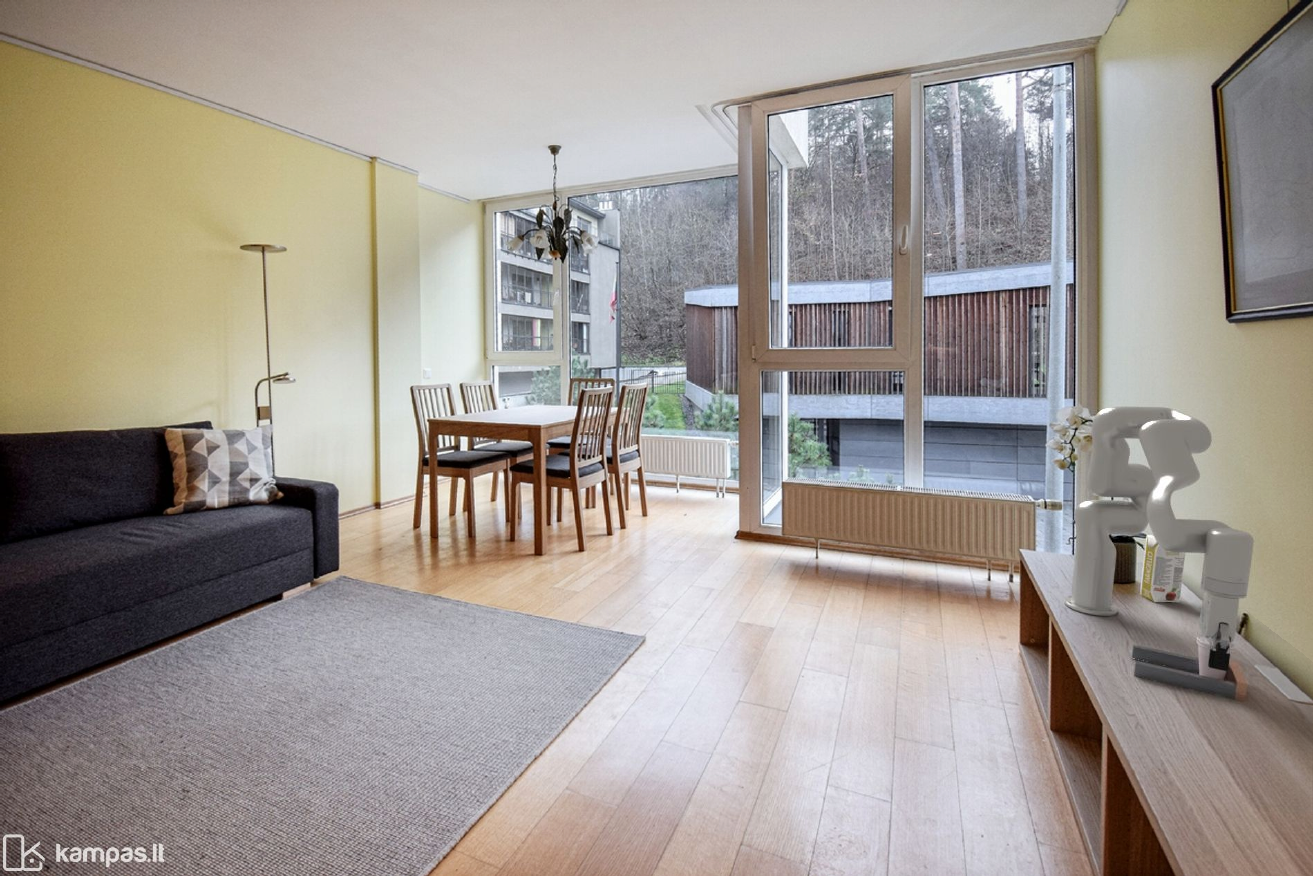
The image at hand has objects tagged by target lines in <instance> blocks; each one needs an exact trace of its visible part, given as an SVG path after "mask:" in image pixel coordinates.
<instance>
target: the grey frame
mask: <svg viewBox="0 0 1313 876" xmlns="http://www.w3.org/2000/svg"><path fill="white" fill-rule="evenodd" d="M1132 658H1135V659H1134V660H1135V662H1134V669H1133V676H1134V677H1137V676H1139V677H1138V678H1141V677H1144V678H1143V679H1145V678H1148V679H1147V680H1150V679H1151V681H1154V680H1156V681H1155V682H1158V681H1159V682H1158V683H1163V684H1168V685H1172V686H1175V687H1181V688H1184V689H1189V690H1193V691H1197V692H1201V693H1206V694H1211V695H1215V696H1218V697H1224V698H1227V699H1232V700H1236V701H1240V702H1244V703H1245V702H1246V698H1247V697H1246V696H1247V691H1248V690H1247V689H1248V682H1247V680H1246V678H1245V675H1244V674H1243V671H1242V670H1241V669H1242V668H1241V667H1240V664H1239V663H1238V661H1233V660H1230V661H1229V668H1228V671H1226V674H1225V677H1224V680H1220V679H1215V678H1211V677H1206V676H1202V675H1199V657H1195V656H1189V655H1185V654H1180V653H1175V652H1171V651H1165V650H1161V649H1156V648H1152V647H1146V646H1142V645H1138V644H1132V652H1131V659H1132ZM1136 659H1137V660H1136ZM1138 659H1139V660H1138ZM1140 660H1144V661H1140ZM1145 661H1148V662H1145ZM1149 662H1151V663H1149ZM1154 663H1156V664H1154ZM1158 664H1159V665H1158ZM1163 665H1165V666H1163ZM1172 667H1173V668H1172Z"/></svg>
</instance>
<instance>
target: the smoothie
mask: <svg viewBox="0 0 1313 876" xmlns="http://www.w3.org/2000/svg"><path fill="white" fill-rule="evenodd" d="M1215 636H1216V635H1215ZM1195 642H1196V644H1197V650H1198V658H1199V673H1198V675H1202V676H1206V677H1211V678H1215V679H1220V680H1224V681H1225V679H1224V677H1225V674H1226V671H1223V670H1218V669H1213V668H1210V667H1209V666H1208V661H1209V654H1210V649H1212V638H1210V637H1208V638H1206V637H1204V636H1203V635H1200V636H1197V637H1196V641H1195ZM1218 642H1220V641H1216V644H1217V643H1218ZM1235 648H1236V645H1235V644H1234V643H1233V642H1230V659H1232V655H1233V653H1234V652H1235V651H1236V650H1235Z"/></svg>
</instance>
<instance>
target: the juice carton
mask: <svg viewBox="0 0 1313 876" xmlns="http://www.w3.org/2000/svg"><path fill="white" fill-rule="evenodd" d="M1144 544H1145V545H1144V551H1143V561H1142V568H1141V569H1142V571H1141V579H1140V596H1141V595H1142V596H1141V597H1144V598H1145V599H1147V598H1148V599H1147V600H1149V599H1150V601H1151V600H1152V601H1151V602H1153V601H1154V602H1153V603H1155V602H1180V600H1181V598H1180V597H1181V594H1182V593H1181V590H1182V586H1183V576H1184V567H1185V559H1186V553H1182V552H1170V551H1167V550H1165V549H1163V548H1162V547H1161V546H1160V545H1159V544H1158V543H1157V541H1156V539H1155V537H1154V535H1153V534H1150V535H1149V534H1146V538H1145V543H1144Z"/></svg>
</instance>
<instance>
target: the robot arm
mask: <svg viewBox="0 0 1313 876" xmlns="http://www.w3.org/2000/svg"><path fill="white" fill-rule="evenodd" d="M1091 437H1092V451H1091V455H1090V460H1089V461H1090V462H1089V465H1088V473H1087V481H1086V487H1087V490H1088V492H1089V493H1090V494H1092V495H1093V496H1097V497H1101V498H1102V497H1103V498H1122V499H1121V500H1119V499H1117V500H1115V499H1114V500H1113V499H1112V500H1111V499H1091V500H1085V501H1082V502H1080V503H1079V504H1078V505H1077V506H1076V507H1075V509H1074V522H1075V531H1076V536H1075V537H1076V538H1075V552H1074V560H1073V561H1074V563H1073V574H1072V583H1071V595H1070V596H1069V595H1068V596H1066V597H1065V598H1064V600H1063V601H1064V602H1063V603H1064V605H1066V606H1067V607H1068V608H1070V609H1072V610H1073V611H1077V612H1080V613H1083V614H1087V615H1093V616H1100V617H1101V616H1102V617H1109V616H1114V615H1116V614H1117V613H1118V607H1117V606H1116V605H1115V604H1113V603H1112V599H1113V588H1114V580H1115V569H1116V560H1117V550H1116V546H1115V545H1114V543H1113V542H1112V540H1111V538H1110V536H1111V535H1138V534H1141V533H1143V532H1144V531H1145V530H1147V529H1146V528H1147V527H1148V525H1149V527H1150V530H1151V532H1152V535H1153V536H1154V537H1155V539H1156V541H1157V543H1158V544H1159V545H1160V546H1161V547H1162V548H1163V549H1165V550H1167V551H1170V552H1182V553H1185V554H1187V553H1189V554H1190V553H1191V554H1192V553H1195V554H1203V555H1204V556H1203V564H1202V570H1201V580H1200V590H1202V591H1203V592H1204V593H1203V596H1202V601H1201V609H1200V612H1199V613H1200V614H1199V619H1198V620H1199V621H1198V625H1199V628H1200V630H1201V634H1202V636H1204V637H1206V638H1208V637H1210V638H1212V649H1210V654H1209V661H1208V666H1209V667H1210V668H1213V669H1218V670H1223V671H1228V668H1229V661H1231V658H1230V642H1231V643H1233V642H1234V640H1235V638H1236V631H1237V625H1238V618H1239V617H1238V616H1239V608H1240V599H1245V598H1247V595H1248V589H1249V581H1250V575H1251V574H1250V573H1251V566H1252V557H1253V551H1254V537H1253V536H1252V534H1250V533H1249V532H1246V531H1243V530H1239V529H1236V528H1235V529H1234V528H1232V527H1231V526H1229V525H1227V524H1226V523H1224V522H1222V521H1219V520H1214V519H1213V520H1212V519H1193V518H1192V519H1191V518H1189V519H1183V518H1182V519H1181V518H1180V519H1179V518H1176V516H1175V514H1174V511H1173V509H1172V503H1171V498H1172V495H1173V493H1174V492H1176V491H1179V490H1181V489H1184V488H1185V489H1186V488H1187V487H1189V486H1191V485H1193V484H1195V483H1197V482H1198V480H1200V477H1201V473H1200V471H1199V469H1198V466H1197V464H1196V462H1195V460H1194V457H1193V455H1194V454H1196V455H1197V454H1202V453H1205V452H1206V451H1208V450H1209V448H1210V447H1211V445H1212V442H1213V441H1212V440H1213V439H1212V438H1213V437H1212V433H1211V430H1210V429H1209V427H1208V426H1207V425H1206V424H1205V423H1204V422H1203V421H1201V420H1199V419H1198V418H1195V417H1193V416H1191V415H1188V414H1185V413H1182V412H1180V411H1178V410H1176V409H1172V408H1169V407H1164V406H1163V407H1160V406H1112V407H1111V406H1110V407H1106V408H1103V409H1101V410H1100V411H1099V412H1097V413H1096V414H1095V416H1094V418H1093V420H1092V423H1091ZM1127 439H1128V440H1129V439H1132V440H1133V439H1134V440H1135V439H1137V440H1139V443H1140V445H1141V448H1142V450H1143V452H1144V456H1145V458H1146V461H1147V463H1148V465H1149V467H1148V466H1146V464H1145V465H1144V464H1141V463H1129V460H1130V454H1131V448H1130V445H1129V443H1128V441H1127ZM1215 635H1216V636H1215ZM1216 641H1220V642H1218V643H1217V644H1216Z"/></svg>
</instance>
